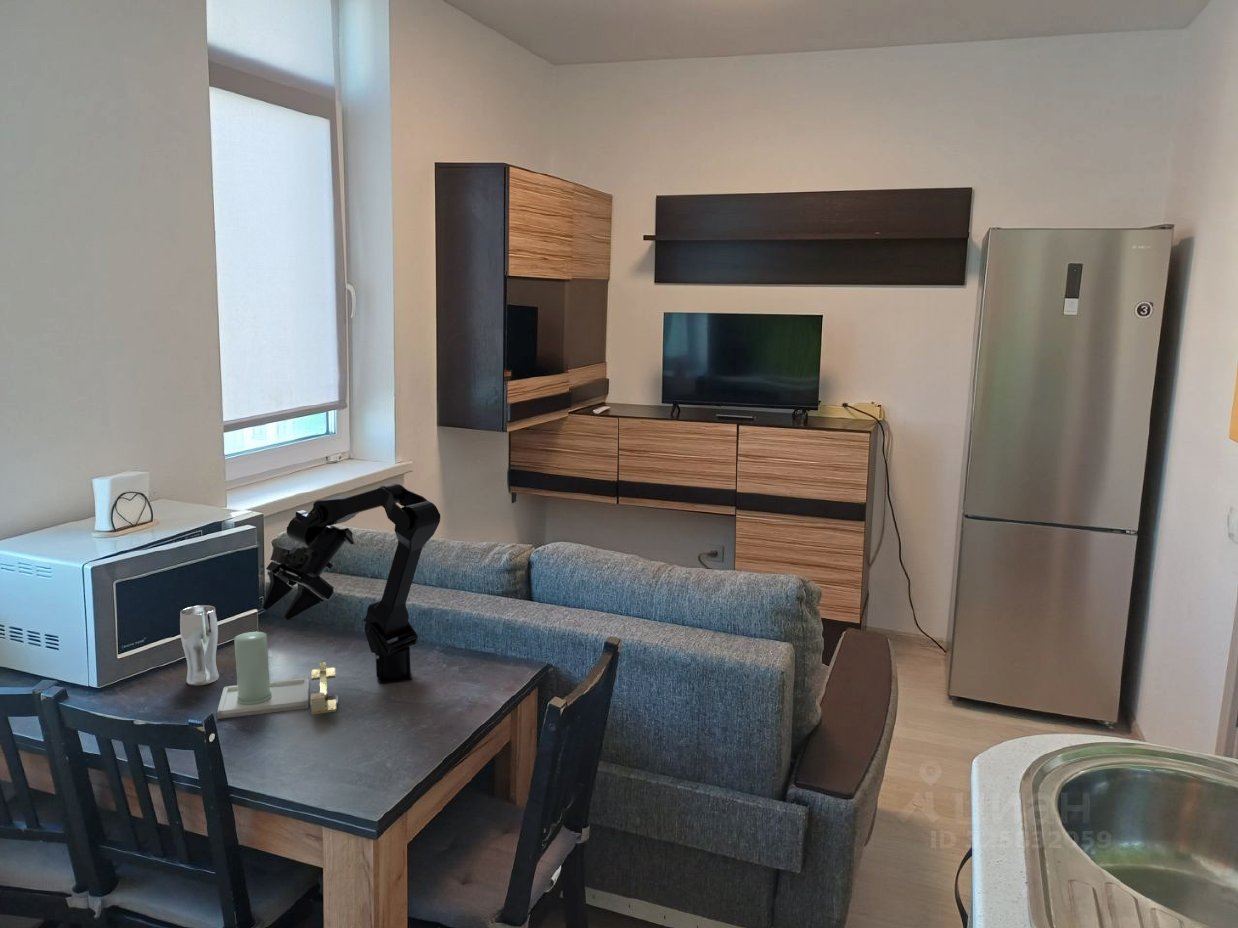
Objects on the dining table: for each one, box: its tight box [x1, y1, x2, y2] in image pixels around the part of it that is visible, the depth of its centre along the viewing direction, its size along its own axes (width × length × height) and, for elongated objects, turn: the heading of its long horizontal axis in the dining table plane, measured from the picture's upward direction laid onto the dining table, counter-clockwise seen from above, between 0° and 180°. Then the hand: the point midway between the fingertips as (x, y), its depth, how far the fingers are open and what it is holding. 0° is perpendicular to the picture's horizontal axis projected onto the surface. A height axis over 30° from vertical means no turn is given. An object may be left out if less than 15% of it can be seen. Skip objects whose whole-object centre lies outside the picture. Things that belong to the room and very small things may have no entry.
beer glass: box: [179, 604, 220, 686], centre depth 187 cm, size 7×7×15 cm
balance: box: [310, 661, 339, 715], centre depth 175 cm, size 5×15×7 cm, turn 18°
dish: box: [217, 677, 310, 720], centre depth 178 cm, size 16×12×2 cm
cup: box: [234, 631, 272, 705], centre depth 177 cm, size 6×6×12 cm
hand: (274, 613), depth 188 cm, fingers open, 9 cm apart
